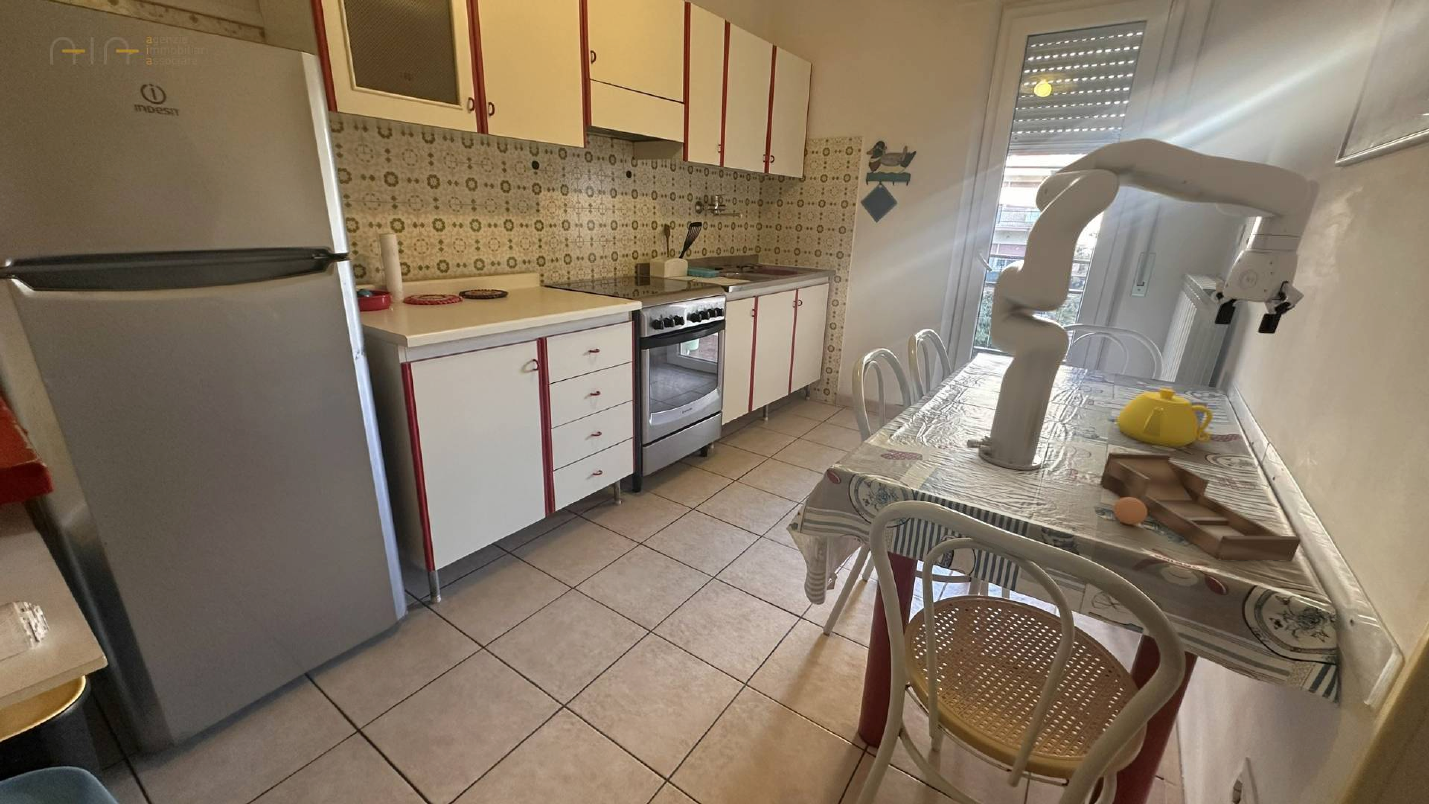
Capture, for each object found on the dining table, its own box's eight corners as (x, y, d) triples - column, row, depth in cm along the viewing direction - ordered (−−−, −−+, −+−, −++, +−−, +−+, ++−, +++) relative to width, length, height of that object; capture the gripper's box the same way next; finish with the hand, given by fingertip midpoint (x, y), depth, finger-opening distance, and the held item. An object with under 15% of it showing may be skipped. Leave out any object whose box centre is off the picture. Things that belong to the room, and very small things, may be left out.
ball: (1123, 529, 98) (1131, 505, 96) (1103, 515, 102) (1111, 492, 101) (1149, 529, 98) (1157, 505, 96) (1128, 515, 102) (1136, 492, 101)
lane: (1099, 483, 115) (1109, 452, 113) (1156, 484, 116) (1167, 453, 114) (1220, 560, 90) (1235, 522, 87) (1291, 560, 91) (1308, 523, 88)
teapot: (1120, 420, 155) (1134, 376, 151) (1208, 441, 143) (1225, 393, 139) (1105, 438, 141) (1120, 390, 137) (1201, 462, 129) (1220, 410, 125)
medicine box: (1198, 433, 148) (1209, 402, 145) (1181, 432, 148) (1192, 401, 145) (1175, 423, 156) (1185, 393, 153) (1159, 422, 156) (1169, 392, 153)
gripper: (1216, 241, 121) (1191, 320, 127) (1301, 246, 105) (1267, 336, 110) (1248, 243, 122) (1221, 321, 127) (1337, 248, 105) (1302, 337, 111)
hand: (1243, 328), depth 119 cm, fingers open, 9 cm apart
